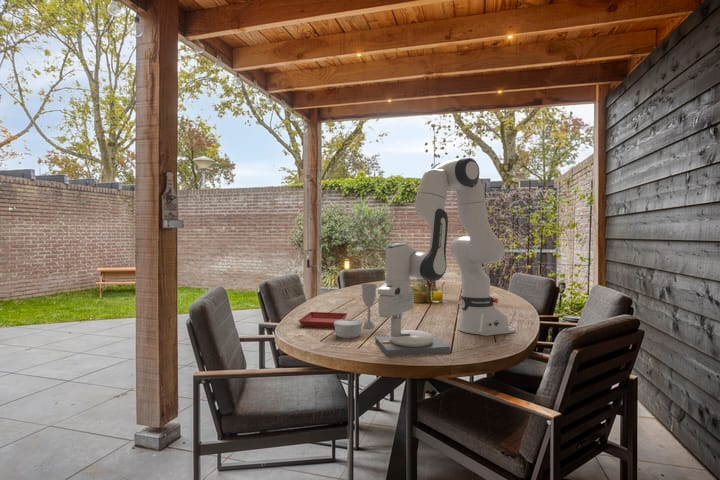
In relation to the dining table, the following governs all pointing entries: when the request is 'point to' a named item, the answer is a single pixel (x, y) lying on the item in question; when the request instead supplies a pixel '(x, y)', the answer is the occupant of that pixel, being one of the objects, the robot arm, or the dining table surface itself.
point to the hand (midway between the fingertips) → (397, 325)
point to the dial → (408, 335)
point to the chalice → (369, 301)
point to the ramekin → (348, 328)
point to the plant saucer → (321, 319)
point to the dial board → (399, 350)
